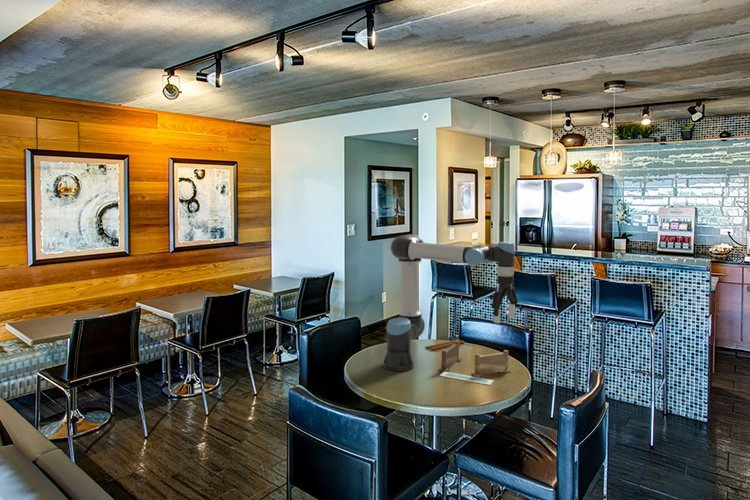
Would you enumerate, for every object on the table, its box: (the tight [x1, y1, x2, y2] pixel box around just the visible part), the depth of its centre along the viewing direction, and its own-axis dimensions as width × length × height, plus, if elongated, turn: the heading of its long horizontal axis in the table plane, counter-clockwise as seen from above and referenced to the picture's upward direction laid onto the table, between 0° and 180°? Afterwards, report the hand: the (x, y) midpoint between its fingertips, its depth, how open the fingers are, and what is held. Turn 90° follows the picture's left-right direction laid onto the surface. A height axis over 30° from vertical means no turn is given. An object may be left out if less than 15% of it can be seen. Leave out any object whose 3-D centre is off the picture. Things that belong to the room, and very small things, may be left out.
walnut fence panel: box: [438, 341, 463, 373], centre depth 248 cm, size 4×21×10 cm, turn 151°
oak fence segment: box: [471, 349, 511, 378], centre depth 237 cm, size 4×19×10 cm, turn 111°
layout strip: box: [439, 371, 494, 386], centre depth 230 cm, size 24×6×1 cm, turn 61°
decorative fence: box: [424, 339, 465, 352], centre depth 282 cm, size 25×2×10 cm
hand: (504, 320), depth 233 cm, fingers open, 13 cm apart
